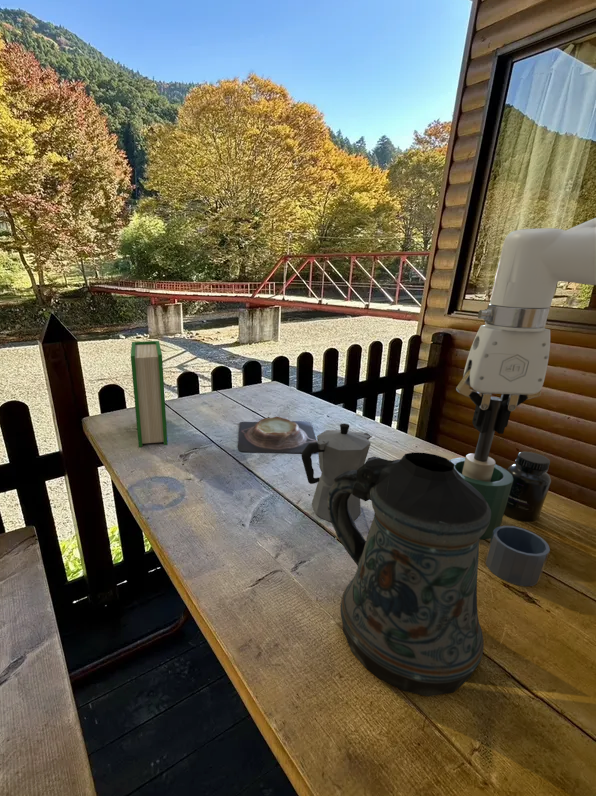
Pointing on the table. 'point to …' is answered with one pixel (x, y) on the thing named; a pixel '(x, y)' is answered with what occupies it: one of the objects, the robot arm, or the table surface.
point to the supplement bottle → (528, 486)
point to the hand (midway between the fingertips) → (487, 429)
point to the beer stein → (413, 571)
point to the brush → (484, 448)
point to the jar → (490, 492)
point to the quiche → (275, 435)
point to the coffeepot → (335, 464)
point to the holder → (517, 555)
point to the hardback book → (149, 392)
